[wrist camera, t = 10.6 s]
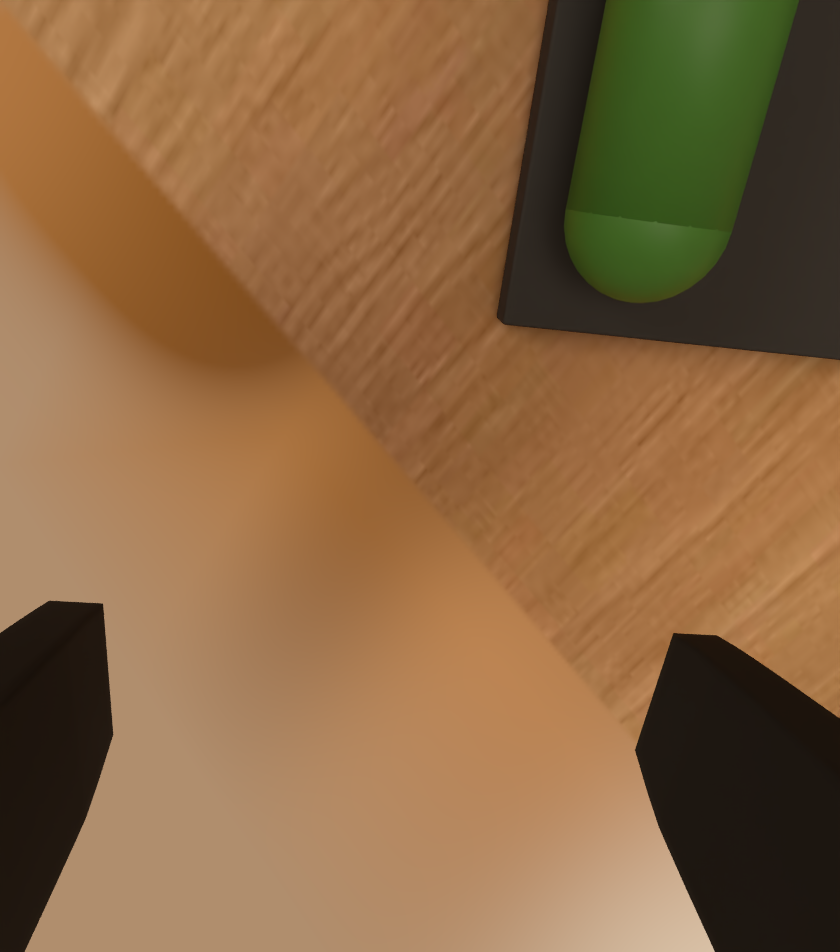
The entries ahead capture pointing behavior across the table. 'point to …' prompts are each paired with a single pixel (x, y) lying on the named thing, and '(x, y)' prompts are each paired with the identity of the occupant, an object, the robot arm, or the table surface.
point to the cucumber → (670, 139)
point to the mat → (756, 226)
